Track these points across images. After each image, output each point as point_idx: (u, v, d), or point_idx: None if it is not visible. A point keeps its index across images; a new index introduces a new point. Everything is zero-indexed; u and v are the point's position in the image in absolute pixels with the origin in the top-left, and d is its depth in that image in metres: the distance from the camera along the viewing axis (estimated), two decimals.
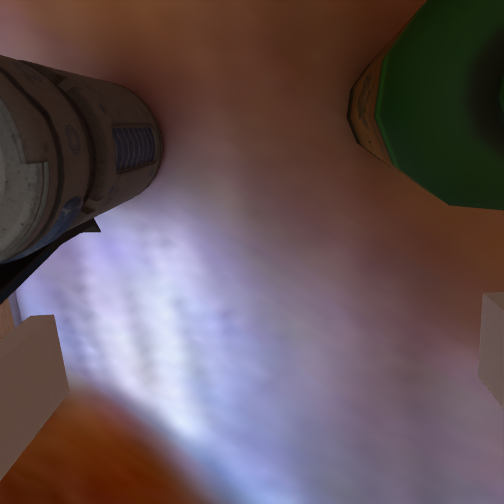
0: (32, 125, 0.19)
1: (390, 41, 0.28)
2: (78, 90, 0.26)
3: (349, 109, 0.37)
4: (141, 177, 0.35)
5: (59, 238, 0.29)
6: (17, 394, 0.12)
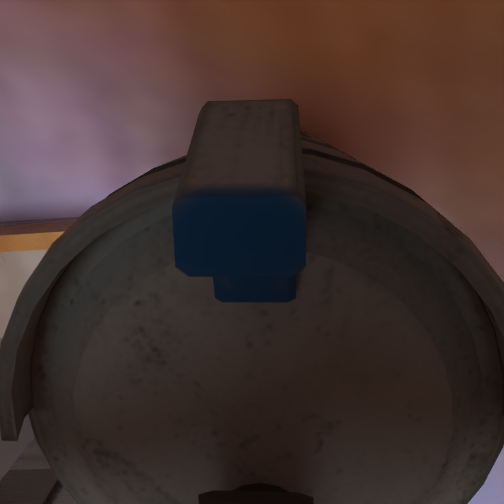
0: None
1: None
2: None
3: None
4: None
5: None
6: None
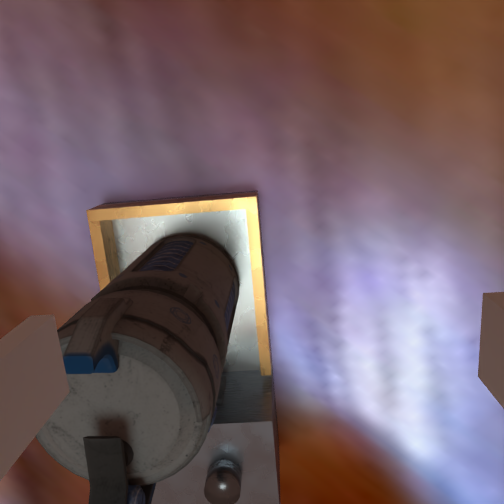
0: (203, 385, 0.23)
1: None
2: (203, 299, 0.30)
3: None
4: None
5: None
6: (17, 394, 0.12)
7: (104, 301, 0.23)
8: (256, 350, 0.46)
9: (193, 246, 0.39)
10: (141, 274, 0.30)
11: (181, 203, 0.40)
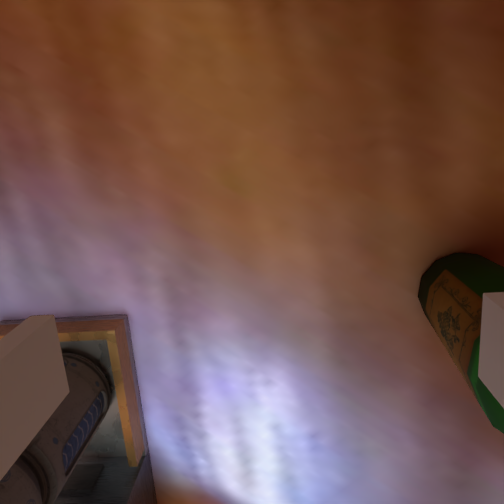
0: None
1: (468, 291, 0.39)
2: (37, 444, 0.39)
3: (422, 296, 0.48)
4: None
5: None
6: (17, 394, 0.12)
7: None
8: None
9: None
10: None
11: None
